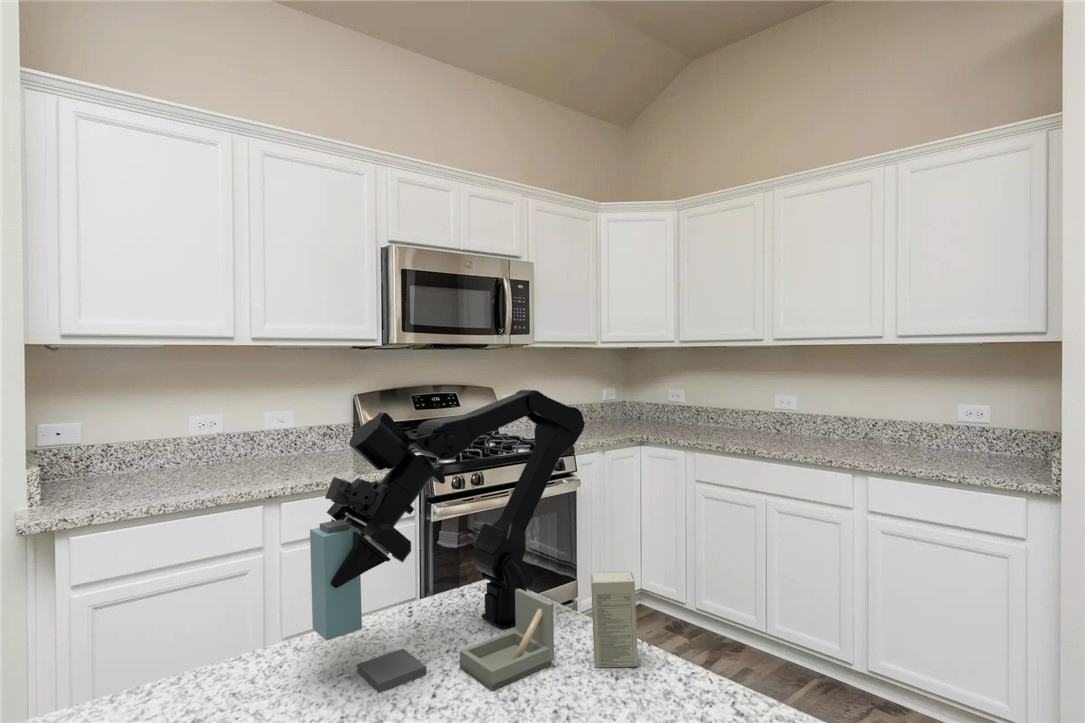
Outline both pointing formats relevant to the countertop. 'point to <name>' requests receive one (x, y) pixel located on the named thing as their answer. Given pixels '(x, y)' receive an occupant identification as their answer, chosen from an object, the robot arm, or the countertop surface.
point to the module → (331, 605)
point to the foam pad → (391, 670)
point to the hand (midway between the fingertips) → (326, 580)
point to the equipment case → (514, 645)
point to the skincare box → (614, 619)
